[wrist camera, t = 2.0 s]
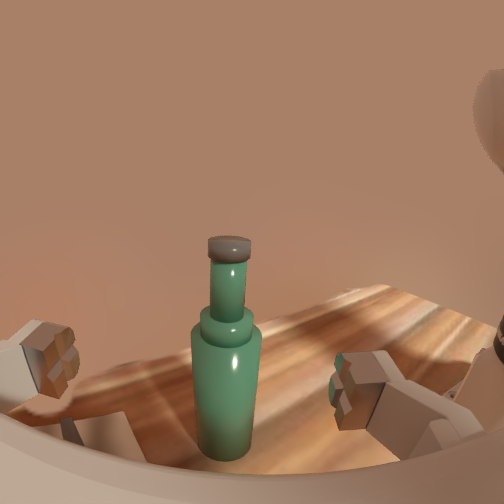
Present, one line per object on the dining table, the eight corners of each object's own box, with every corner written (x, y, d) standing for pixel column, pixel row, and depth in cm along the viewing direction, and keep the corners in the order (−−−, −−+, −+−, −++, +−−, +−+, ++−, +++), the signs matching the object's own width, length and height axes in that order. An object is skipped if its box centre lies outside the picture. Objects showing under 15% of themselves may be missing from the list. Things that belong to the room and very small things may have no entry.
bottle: (232, 417, 29) (241, 229, 24) (261, 448, 25) (286, 247, 20) (188, 433, 26) (177, 235, 21) (214, 468, 22) (212, 256, 17)
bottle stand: (125, 418, 27) (116, 382, 25) (182, 525, 16) (174, 501, 14) (-32, 439, 16) (-54, 404, 14) (-26, 548, 5) (-63, 520, 3)
